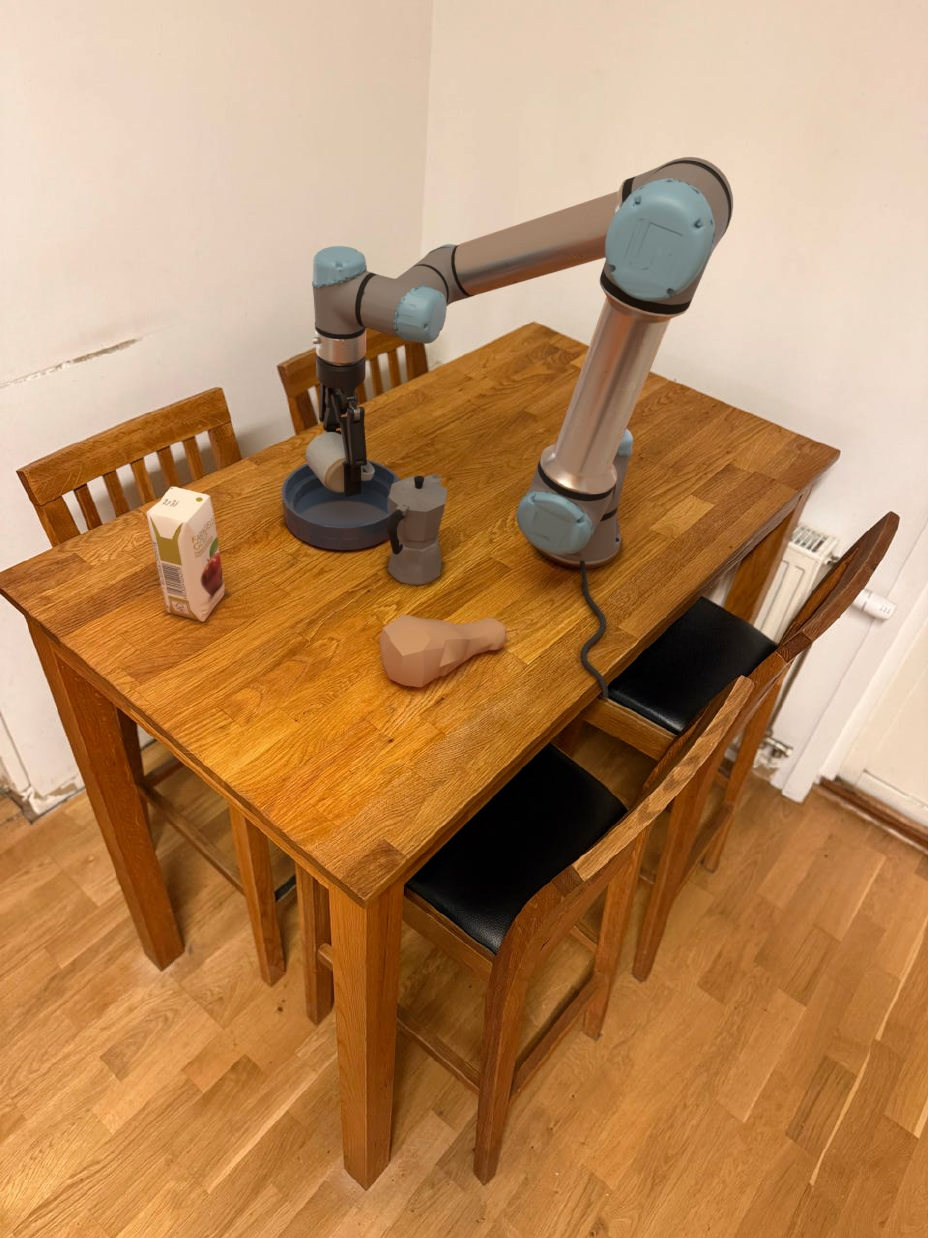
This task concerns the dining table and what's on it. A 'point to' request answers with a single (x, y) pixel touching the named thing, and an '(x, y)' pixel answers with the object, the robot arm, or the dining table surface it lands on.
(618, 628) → the dining table surface
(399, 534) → the coffeepot
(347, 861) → the dining table surface
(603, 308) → the robot arm
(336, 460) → the ceramic mug
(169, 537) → the juice carton
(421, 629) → the raw chicken drumstick
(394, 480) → the bowl
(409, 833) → the dining table surface
